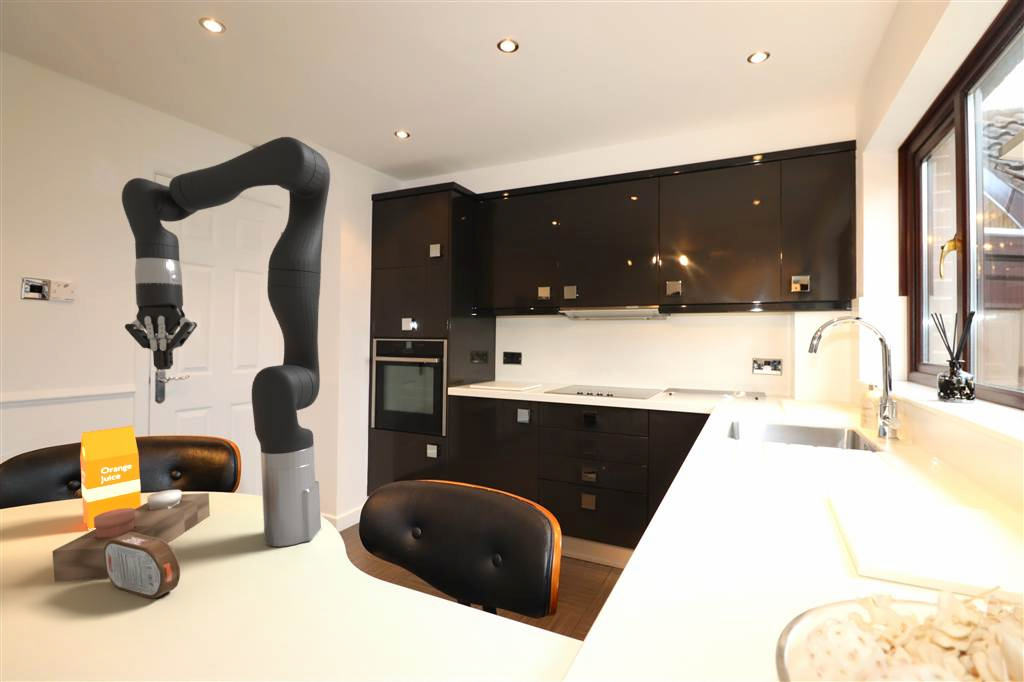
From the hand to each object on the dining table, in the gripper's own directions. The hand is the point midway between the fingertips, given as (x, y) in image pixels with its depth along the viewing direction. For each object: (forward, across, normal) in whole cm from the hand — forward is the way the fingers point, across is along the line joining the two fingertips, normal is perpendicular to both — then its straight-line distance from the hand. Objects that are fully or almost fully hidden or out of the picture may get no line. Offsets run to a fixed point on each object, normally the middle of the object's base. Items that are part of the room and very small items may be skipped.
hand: (163, 369), depth 94 cm
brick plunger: (+31, +2, +11) cm, 33 cm away
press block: (+33, +2, +5) cm, 33 cm away
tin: (+33, -10, +23) cm, 42 cm away
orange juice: (+33, +18, -9) cm, 39 cm away
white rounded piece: (+32, +2, -1) cm, 32 cm away
